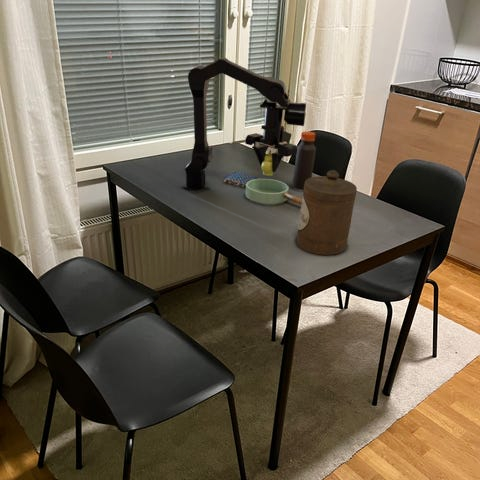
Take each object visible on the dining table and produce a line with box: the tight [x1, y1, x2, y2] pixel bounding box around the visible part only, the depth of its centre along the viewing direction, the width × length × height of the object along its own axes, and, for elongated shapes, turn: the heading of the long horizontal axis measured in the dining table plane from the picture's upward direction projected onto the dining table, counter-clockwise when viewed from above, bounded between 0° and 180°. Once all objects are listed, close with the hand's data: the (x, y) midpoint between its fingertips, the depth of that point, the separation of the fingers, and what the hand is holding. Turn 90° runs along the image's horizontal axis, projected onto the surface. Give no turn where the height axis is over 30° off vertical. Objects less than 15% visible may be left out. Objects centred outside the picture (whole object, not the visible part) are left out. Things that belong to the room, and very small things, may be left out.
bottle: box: [291, 131, 317, 191], centre depth 179 cm, size 7×7×20 cm
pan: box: [244, 178, 290, 205], centre depth 174 cm, size 15×15×4 cm
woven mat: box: [223, 171, 259, 188], centre depth 185 cm, size 10×11×2 cm
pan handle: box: [283, 192, 303, 206], centre depth 166 cm, size 2×12×2 cm, turn 47°
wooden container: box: [296, 169, 358, 256], centre depth 140 cm, size 15×15×22 cm
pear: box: [260, 149, 274, 177], centre depth 168 cm, size 5×5×8 cm
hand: (268, 169), depth 170 cm, fingers closed on pear, 5 cm apart
